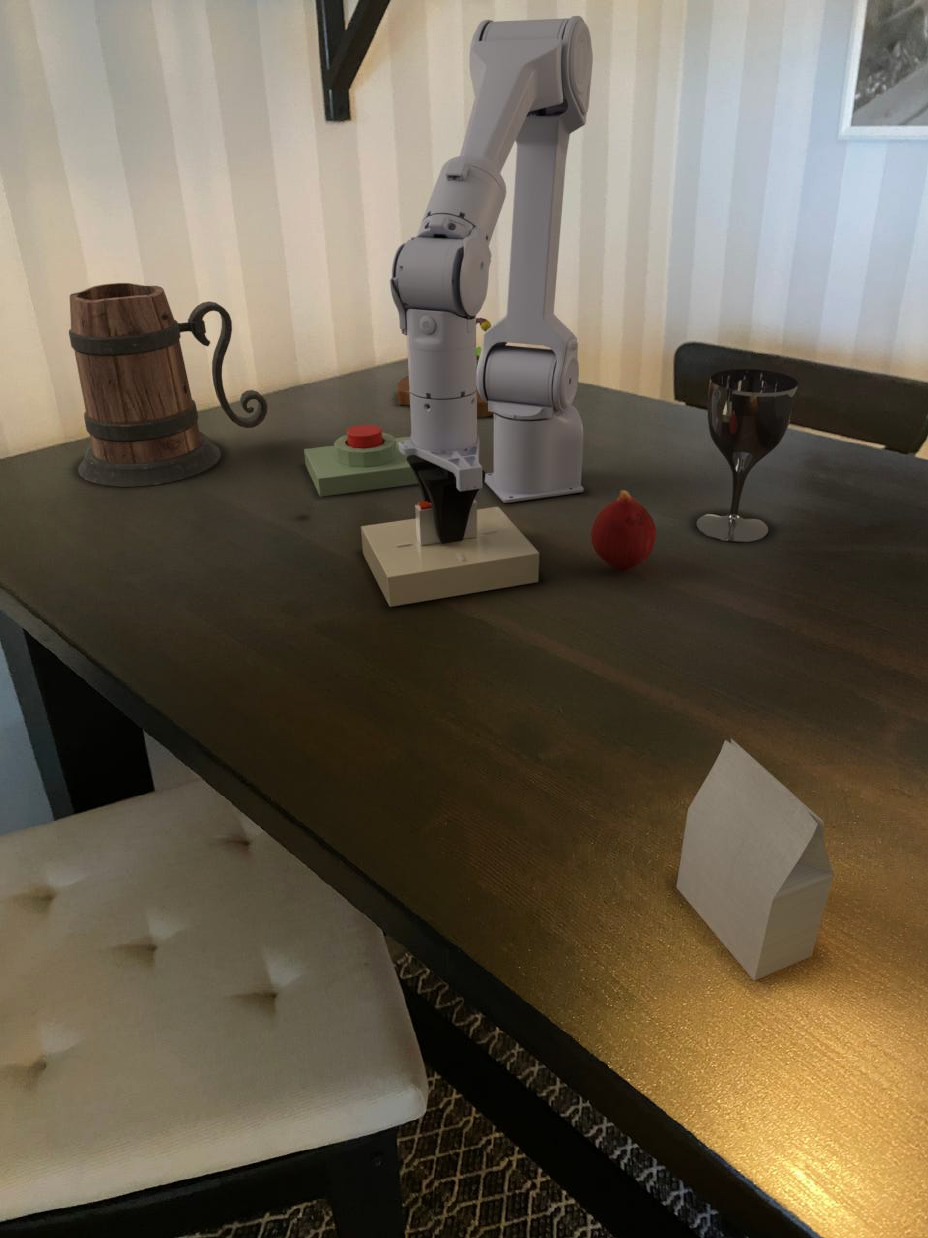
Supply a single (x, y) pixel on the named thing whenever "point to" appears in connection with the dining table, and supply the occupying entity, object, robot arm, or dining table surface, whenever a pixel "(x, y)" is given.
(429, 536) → the switch box
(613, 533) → the onion
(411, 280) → the robot arm
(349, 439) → the button
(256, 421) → the tankard
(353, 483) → the button block
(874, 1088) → the dining table surface
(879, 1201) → the dining table surface
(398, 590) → the plate
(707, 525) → the wine glass
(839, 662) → the dining table surface
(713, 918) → the tea bag
